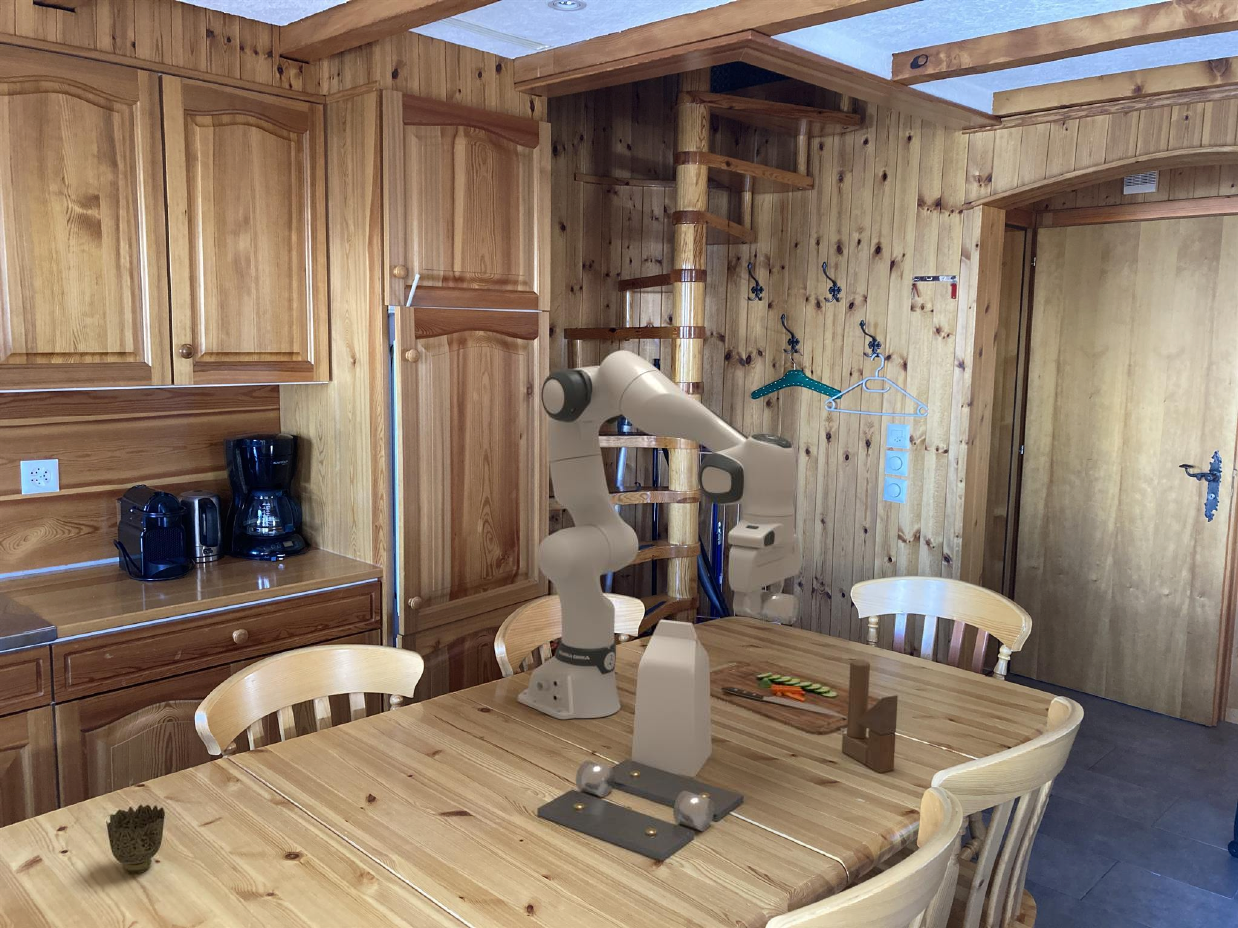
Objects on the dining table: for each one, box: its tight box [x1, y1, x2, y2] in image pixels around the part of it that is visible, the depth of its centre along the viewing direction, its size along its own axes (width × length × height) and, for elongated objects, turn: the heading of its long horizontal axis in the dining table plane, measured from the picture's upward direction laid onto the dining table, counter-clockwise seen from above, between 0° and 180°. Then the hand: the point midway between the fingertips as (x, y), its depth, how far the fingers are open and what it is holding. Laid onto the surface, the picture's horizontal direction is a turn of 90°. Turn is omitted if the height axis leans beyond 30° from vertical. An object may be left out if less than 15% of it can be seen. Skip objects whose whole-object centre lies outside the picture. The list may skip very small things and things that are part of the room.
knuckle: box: [732, 589, 799, 625], centre depth 172 cm, size 10×5×5 cm, turn 55°
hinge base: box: [536, 759, 745, 863], centre depth 163 cm, size 24×25×5 cm
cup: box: [105, 804, 166, 874], centre depth 140 cm, size 8×7×8 cm
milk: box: [630, 619, 712, 778], centre depth 182 cm, size 12×12×26 cm
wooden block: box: [841, 659, 899, 774], centre depth 183 cm, size 4×11×18 cm, turn 26°
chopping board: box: [710, 660, 881, 736], centre depth 219 cm, size 45×27×3 cm, turn 40°
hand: (764, 608), depth 172 cm, fingers closed on knuckle, 5 cm apart
